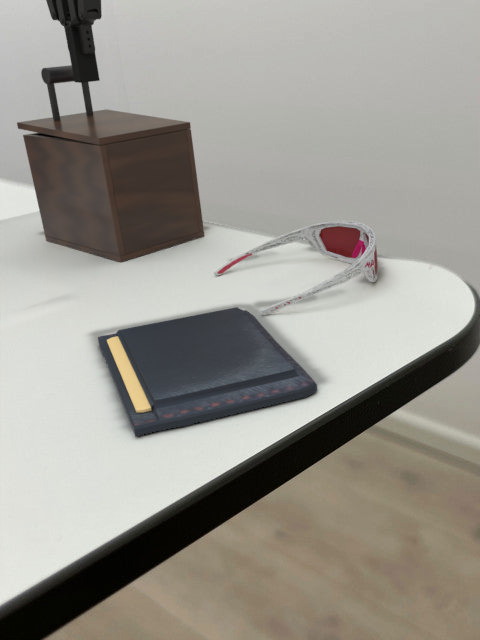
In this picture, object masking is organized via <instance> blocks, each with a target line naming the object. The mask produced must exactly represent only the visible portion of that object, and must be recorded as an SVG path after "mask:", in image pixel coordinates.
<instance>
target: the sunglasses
mask: <svg viewBox="0 0 480 640" xmlns="http://www.w3.org/2000/svg"><path fill="white" fill-rule="evenodd" d="M376 240H377V238H376V233H375V232H374V231H373V228H371V227H370V226H368V225H366V224H364V223H362V222H359V221H356V220H330V221H325V222H324V221H322V222H317V223H313V224H310V225H306V226H303V227H300V228H297V229H295V230H292V231H289V232H286V233H283V234H281V235H279V236H276V237H275V238H272V239H270V240H267V241H265V242H263V243H262V244H260V245H258V246H256V247H253V248H252V249H249V250H247V251H246V252H243V253H241V254H239V255H237V256H236V257H234V258H231V260H229V261H228V262H226V263H225V264H223V265H222V266H220V267H219V268H218V269H216V270H215V271H214V272H213V275H215V276H220V275H223V274H224V273H226V272H227V271H228V270H230V269H231V268H233V267H234V266H236V265H237V264H238V263H239V264H240V263H241V262H242V261H244V260H245V259H247V258H249V257H252V256H254V255H257V254H258V253H261V252H264V251H267V250H270V249H274V248H279V247H281V246H285V245H288V244H294V243H298V242H303V241H307V242H308V244H309V245H310V247H311V248H313V249H315V250H317V251H318V252H319V254H320V255H322V256H325V257H328V258H331V259H333V260H336V261H341V262H342V263H343V262H344V263H347V264H349V266H348V267H346V268H344V269H342V270H341V271H340V272H338V273H337V274H335V275H333V276H331V277H329V278H328V279H326V280H324V281H322V282H320V283H318V284H317V285H314V286H313V287H311V288H309V289H307V290H305V291H303V292H301V293H297V294H295V295H294V296H292V297H289V298H287V299H284V300H282V301H278V302H276V303H274V304H271V305H269V306H266V307H264V308H262V309H260V310H259V314H260V315H266V316H267V315H270V314H273V313H275V312H278V311H281V310H282V309H285V308H286V307H289V306H291V305H293V304H295V303H298V302H300V301H302V300H304V299H307V298H310V297H313V296H314V295H318V294H319V293H322V292H325V291H327V290H330V289H332V288H334V287H337V286H339V285H342V284H344V283H347V282H349V281H350V280H353V279H354V278H356V277H358V276H360V275H362V274H364V275H365V278H366V280H368V282H369V283H375V282H376V281H377V279H378V273H377V272H378V252H377V241H376ZM350 264H351V265H350Z"/></svg>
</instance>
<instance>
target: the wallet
mask: <svg viewBox="0 0 480 640" xmlns="http://www.w3.org/2000/svg"><path fill="white" fill-rule="evenodd" d="M97 341H98V345H99V350H100V353H101V355H102V357H103V358H105V359H104V361H105V360H106V361H105V363H106V365H108V366H107V368H108V371H109V373H110V375H111V378H112V381H113V383H114V385H115V388H116V391H117V393H118V396H119V398H121V399H120V401H121V403H122V406H123V408H124V412H125V413H126V416H127V419H128V421H129V424H130V427H131V430H132V432H133V435H134V437H135V438H136V436H137V437H141V436H140V435H142V436H145V435H144V434H146V435H149V434H148V433H150V434H153V433H152V432H154V433H157V432H156V431H158V432H162V431H161V430H163V431H167V430H166V429H168V430H172V429H171V428H173V429H177V428H176V427H178V428H182V427H181V426H183V427H186V425H187V426H191V425H194V423H196V424H199V423H198V422H200V423H204V422H208V421H212V420H211V419H213V420H217V419H220V417H221V418H224V416H225V417H229V416H228V415H230V416H234V415H238V414H242V413H246V412H245V411H247V412H250V410H251V411H254V409H255V410H259V409H263V408H262V407H264V408H268V407H272V406H275V404H276V405H280V404H279V403H281V404H284V403H283V402H285V403H288V401H289V402H292V400H293V401H296V400H300V399H303V397H304V398H307V397H309V396H311V395H313V394H315V393H316V392H318V384H317V383H316V381H315V380H314V379H313V378H312V377H311V375H310V374H309V373H308V372H307V371H306V370H305V369H304V368H303V367H302V366H301V365H300V364H299V363H298V362H297V360H295V359H294V357H292V356H291V354H290V353H288V352H287V350H285V349H284V348H283V346H282V345H281V344H279V343H278V342H277V340H276V339H275V338H274V337H273V336H272V335H271V334H270V332H269V331H268V330H267V329H266V328H265V326H264V325H262V323H261V322H260V321H259V320H258V319H257V317H256V316H255V315H254V314H252V312H250V311H249V310H246V309H242V308H239V307H238V306H236V307H230V308H225V309H220V310H215V311H209V312H204V313H200V314H194V315H188V316H184V317H178V318H173V319H168V320H164V321H159V322H153V323H148V324H143V325H142V324H141V325H137V326H132V327H127V328H122V329H119V330H117V331H116V332H115V333H110V334H105V335H100V336H98V337H97ZM299 398H300V399H299ZM295 399H296V400H295ZM271 405H272V406H271ZM267 406H268V407H267ZM258 408H259V409H258ZM241 412H242V413H241ZM237 413H238V414H237ZM233 414H234V415H233ZM216 418H217V419H216ZM207 420H208V421H207ZM203 421H204V422H203ZM190 424H191V425H190Z"/></svg>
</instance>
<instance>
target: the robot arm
mask: <svg viewBox="0 0 480 640" xmlns="http://www.w3.org/2000/svg"><path fill="white" fill-rule="evenodd" d="M45 1H46V4H47V7H48V11H49V14H50V17H51V19H52V20H53V21H57V22H59V24H60V25H61V26H62V27H63V28H64V34H65V39H66V44H67V49H68V54H69V59H70V65H72V70H73V76H74V83H79V84H81V83H83V82H88V83H91V82H99V81H100V75H99V74H100V73H99V68H98V62H97V56H96V45H95V38H94V32H93V25H94V24H95V21H97V20H101V19H102V16H103V15H102V0H45Z"/></svg>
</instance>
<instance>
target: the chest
mask: <svg viewBox="0 0 480 640" xmlns="http://www.w3.org/2000/svg"><path fill="white" fill-rule="evenodd" d="M22 137H23V142H24V146H25V147H24V148H25V151H26V155H27V160H28V165H29V170H30V174H31V178H32V183H33V186H34V188H33V189H34V192H35V197H36V201H37V205H38V210H39V215H40V219H41V224H42V229H43V233H44V237H45V241H46V242H49V243H52V244H56V245H58V246H63V247H67V248H68V249H69V248H70V249H73V250H77V251H80V252H84V253H87V254H91V255H94V256H98V257H101V258H104V259H108V260H111V261H115V262H119V263H123V262H126V261H129V260H133V259H136V258H140V257H143V256H146V255H150V254H152V253H155V252H159V251H161V250H165V249H168V248H172V247H174V246H178V245H180V244H181V245H182V244H184V243H188V242H190V241H191V242H192V241H194V240H197V239H201V238H203V237H205V230H204V223H203V214H202V213H203V212H202V206H201V205H202V204H201V197H200V189H199V183H198V175H197V166H196V159H195V151H194V143H193V136H192V130H191V129H186V130H180V131H175V132H169V133H164V134H158V135H153V136H147V137H142V138H136V139H131V140H125V141H120V142H114V143H109V144H103V145H97V144H92V143H87V142H82V141H77V140H72V139H67V138H62V137H57V136H52V135H47V134H42V133H37V132H32V133H27V134H23V135H22Z"/></svg>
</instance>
